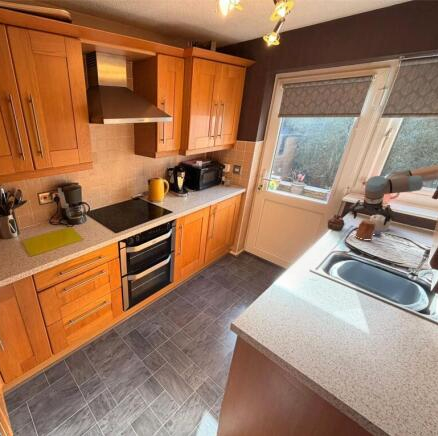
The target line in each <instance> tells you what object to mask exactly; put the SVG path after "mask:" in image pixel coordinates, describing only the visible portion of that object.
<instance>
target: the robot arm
mask: <svg viewBox="0 0 438 436" xmlns="http://www.w3.org/2000/svg"><path fill="white" fill-rule="evenodd" d="M432 181H438V163H437V164H433V165H427V166H423V167H418V168H414V169H408V170H402V171H391V172H388V173H387V174H386V175H385V176H381V175H376V176H375V175H374V176H371V177H370V178H368V179H367V180H366V182H365V186H364V195H363V201H361V200H360V199H358V200H357V201H356V202H355V203H353V204H352V205H350V206H349V207H348V211H349V212H351V215H353V219H354V220H355V219H356V218H357V216H358V212H359V211H364V210H369V211H373V212H376V213H379V215H382V216H384V217H385V221H384V225H386V223H387V222H389V221H390V219H391V220H393V221H394V220H396V218H397V214H396V213H395V212H394V211H393V209H392V208H391V205H390V204H387V205H383V203H384V202H383V201H384V198H385V195H390V194H401V193H412V192H417V191H421V190H422V189H423V186H424V183H428V182H432Z"/></svg>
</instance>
